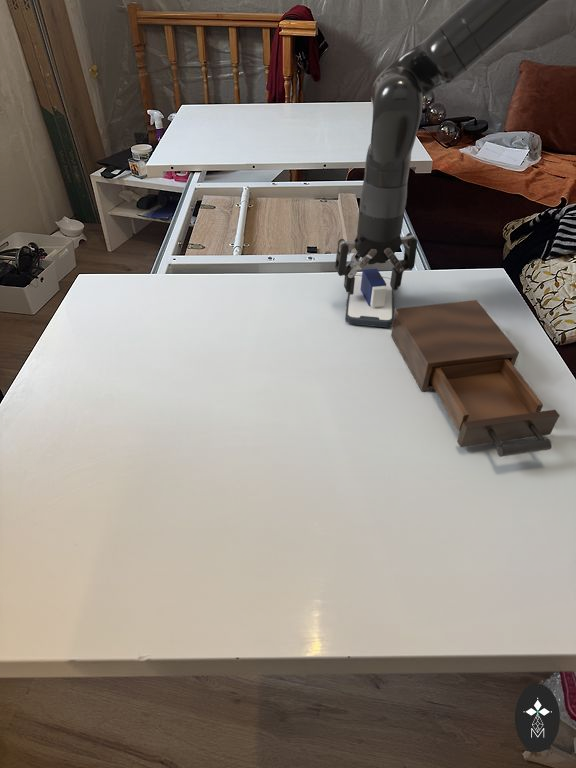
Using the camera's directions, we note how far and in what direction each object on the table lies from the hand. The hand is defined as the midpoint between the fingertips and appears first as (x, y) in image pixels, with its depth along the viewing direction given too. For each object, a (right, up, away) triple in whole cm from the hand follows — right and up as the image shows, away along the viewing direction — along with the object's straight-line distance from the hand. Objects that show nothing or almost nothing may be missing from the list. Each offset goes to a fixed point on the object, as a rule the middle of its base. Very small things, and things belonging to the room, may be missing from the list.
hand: (371, 290), depth 100 cm
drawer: (+14, -23, -22) cm, 34 cm away
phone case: (0, -2, +2) cm, 3 cm away
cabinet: (+11, -13, -10) cm, 20 cm away
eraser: (0, -1, +1) cm, 1 cm away
